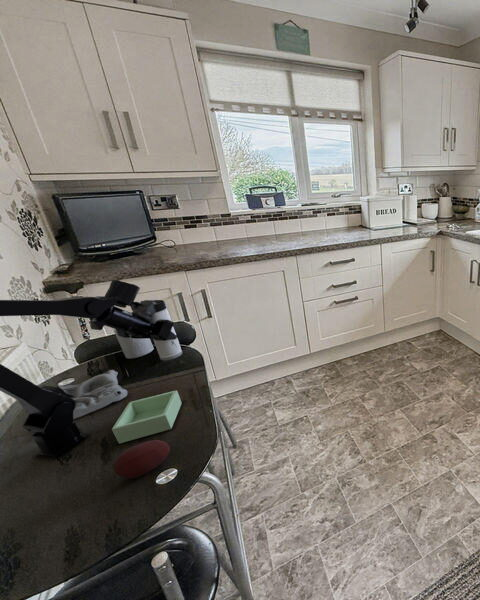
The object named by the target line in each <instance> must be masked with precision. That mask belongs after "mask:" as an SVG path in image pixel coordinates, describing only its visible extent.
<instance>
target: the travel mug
mask: <svg viewBox="0 0 480 600" xmlns="http://www.w3.org/2000/svg"><path fill="white" fill-rule="evenodd" d="M152 300H153V301H154V302H155V303H156V304H154V308H155V310H156V312H155V313H154V315H153V316H151V318H153V320H152V322H150V323H156V321H158V320H160V319H163V320H170V321H172V319H171V317H170V313H169V310H168V307H167V306H166V302H165V301H164V300H163V299H152ZM141 304H142V303H141V301H140V303H139V306H140V305H141ZM141 306H146V305H141ZM171 331H172V332H173V333H174V334H175V335H176V336H177V333H176V330H175V328H174V326H173V327H172V329H171ZM150 332H151V331H150ZM152 340H153V343H154V346H155V347H156V350H157V353H158V355H159V356H158V357H159V359H160V360H161V361H164V362H165V361H171V360H175V359H177V358H180V357H181V356H182V355H183V350H182V348H181V344H180V342H179V338H178V337H177V338H176V339H173V340H166V341H158V340H155V339H152Z"/></svg>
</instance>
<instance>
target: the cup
mask: <svg viewBox="0 0 480 600" xmlns="http://www.w3.org/2000/svg"><path fill="white" fill-rule="evenodd" d="M112 330H113V332H114V334H115V337H116V339H117V342H118V343H119V346H120V348H121V350H122V352H123V355H124V356H125V358H126V359H136V358H140V357H143V356H145V355H147V354H150V353H151V352H152V351H153V350H155V347H154V345H153V343H152V341H151V338H146V339H134V338H131V337H130V338H124V337H121V336H118V334H117V331H116V329H114V328H112ZM130 336H131V335H130Z"/></svg>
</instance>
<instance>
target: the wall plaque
mask: <svg viewBox="0 0 480 600" xmlns="http://www.w3.org/2000/svg"><path fill="white" fill-rule="evenodd" d="M118 374H119V372H118V371H115V370H114V369H108V371H106V372H104V373H100V374H98V375H95V376H93V377H91V378H88V379H86V380H84V381H82V382H80V383H78V384H74V385H71V384H70V385H59V386H58V387H60V388H61V389H62V390H63V391H64V392H66V393H67V394H69V395H74V396H73V397H71V398H72V399H73V400H74V401H75V402H76V404H75V409H74V411H73V420H75V419H78V418H81V417H83V416H85V415H88V414H90V413H93V412H95V411H98V410H101V409H103V408H105V407H107V406H109V405H110V404H112V403H115V402H119V401H122V400H123V399H124V398H127V396H128V390H127V389H125V388H122V386H121V385H119V382H118V381H119V380H118V378H117V376H118ZM118 392H119V393H118Z"/></svg>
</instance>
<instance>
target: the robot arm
mask: <svg viewBox="0 0 480 600" xmlns="http://www.w3.org/2000/svg"><path fill="white" fill-rule="evenodd" d="M140 290H141V287H140V286H139V285H137V284H134V283H131V282H130V283H129V282H127V281H122V280H120V279H112V280H111V282H110V284H109V286H108V289H107V291H106V292H105V294H104V296H103V295H101V296H100V295H97V296H80V295H79V296H70V297H63V298H57V299H50V300H48V299H45V300H44V299H43V300H42V299H0V317H23V316H24V317H25V316H26V317H27V316H28V317H29V316H61V317H66V318H67V317H68V318H78V319H92V320H89V321H88V323H89V326H90V329H91V330H92V331H93V330H95V331H102V330H103V328H104V327H108V328H111V329H116V331H117V334H118V336H121V337H124V338H130V337H131V338H134V339H146V338H150V339H152V340H153V339H155V340H158V341H166V340H173V339H176V338H177V339H178V335H177V334H176V335H175V334H174V333H173V332H172V331H171V329H172V327H174V325H175V322H174V321H173V320H171V321H170V320H163V319H160V320H158V321H156V323H150V322H152V320H153V318H151V316H153V315H154V313H155V312H156V310H155V308H154V304H156V303H155V302H154V301H153V300H154V299H144V300H140V302H141V303H142V304H141V305H146V306H141V305H140V306H139V303H140V302H139V301H135V300H136V298H137V296H138V294H139V292H140ZM127 307H130V310H131V311H132V312H130V311H127V310H125V309H126V308H127ZM150 331H151V332H150ZM130 335H131V336H130ZM0 392H2V393H4V394H6V395H7V396H9V397H11V398H13V399H15V400H17V401H18V404H19V405H20V406H21V407H22V408H23V409H24V410H25V411H26V412H27V413H28V415H27V417H26V418H25V420H24V422H23V424H22V426H21V428H23V429H24V430H26V431H28V432H34V433H33V434H31V437H32V439H33V441H34V442H35V443H36V445H37V447H38V448H39V450H40V451H39V452H38V453H37V455H38V456H43V457H46V456H47V457H53V458H54V457H55V458H58V457H60V456H62V455H63V454H65V453H66V452H67V451H69V450H70V449H72V448H73V447H74V446H76V445H77V444H78V443H80V442H81V441H83V440H84V439H85V438H86V436H85V435H81V431H80V429H79V427H78V425H77V424H76V422H75V421H74V419H73V411H74V409H75V404H76V402H75V401H74V400H73V399H72V398H71V397H73V396H74V395H69V394H67V393H66V392H64V391H63V390H62V389H61V388H60V387H59V386H54V385H48V384H43V385H42V386H41V387H40V386H38V385H37V384H35V383H33V382H32V381H30V380H28V379H27V378H25V377H23V376H22V375H20V374H18V373H17V372H15V371H14V370H11V369H10V368H8V367H7V366H5V365H3V364H2V363H0Z"/></svg>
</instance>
